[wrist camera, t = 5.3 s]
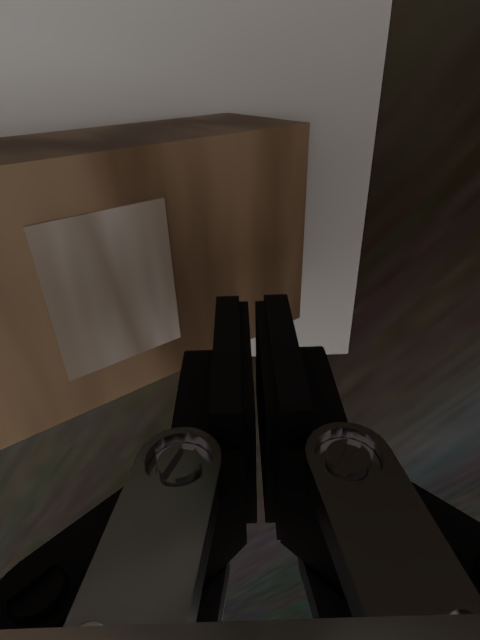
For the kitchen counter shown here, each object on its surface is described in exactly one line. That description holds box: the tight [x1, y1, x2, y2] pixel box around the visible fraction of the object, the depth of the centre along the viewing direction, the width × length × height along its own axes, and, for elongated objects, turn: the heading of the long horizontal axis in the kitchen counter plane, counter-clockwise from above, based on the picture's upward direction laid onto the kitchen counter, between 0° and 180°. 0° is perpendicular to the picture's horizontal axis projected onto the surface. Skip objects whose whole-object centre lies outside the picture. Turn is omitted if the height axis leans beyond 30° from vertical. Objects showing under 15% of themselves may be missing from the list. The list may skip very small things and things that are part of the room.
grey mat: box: [0, 0, 392, 356], centre depth 21 cm, size 24×18×1 cm
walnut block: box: [0, 113, 310, 450], centre depth 15 cm, size 5×8×15 cm
